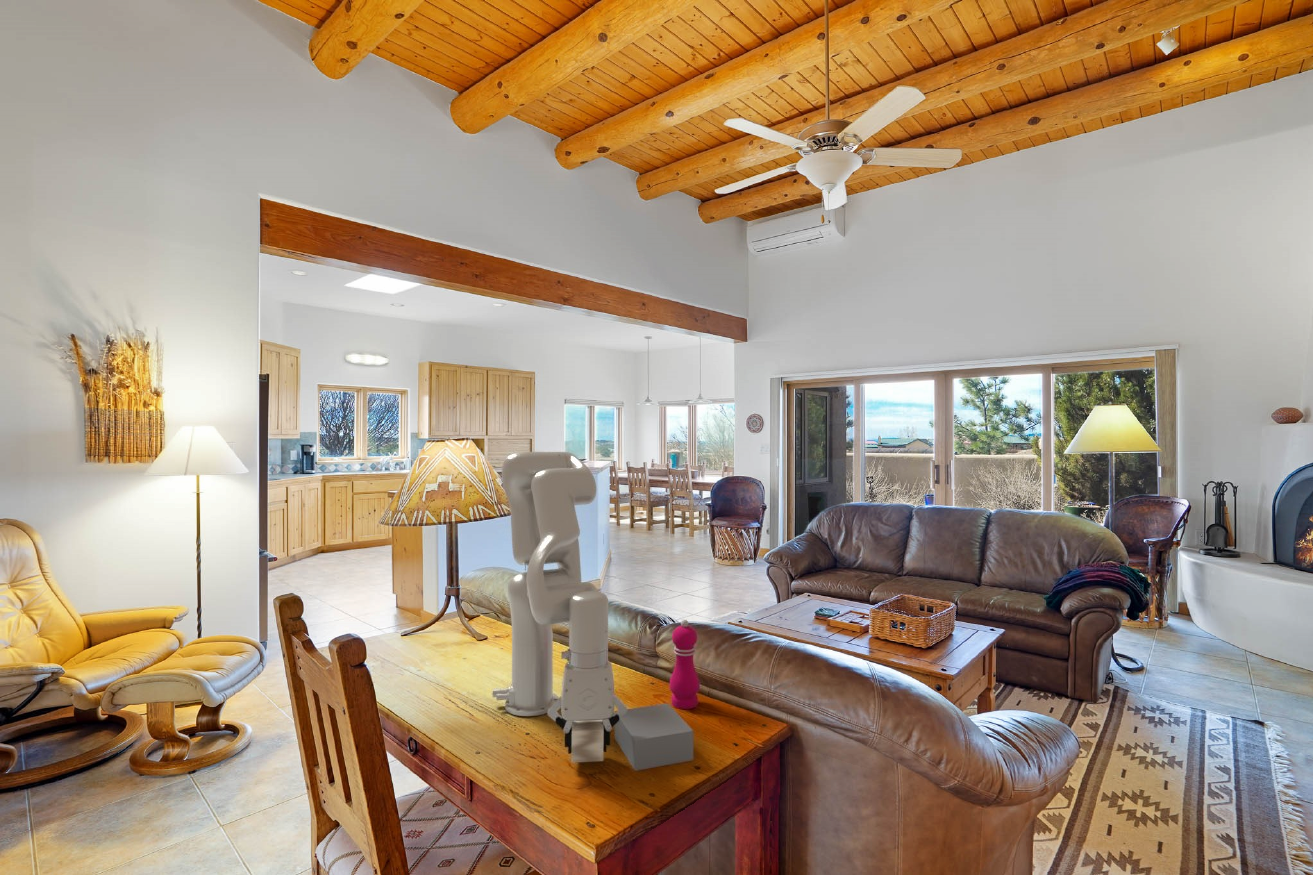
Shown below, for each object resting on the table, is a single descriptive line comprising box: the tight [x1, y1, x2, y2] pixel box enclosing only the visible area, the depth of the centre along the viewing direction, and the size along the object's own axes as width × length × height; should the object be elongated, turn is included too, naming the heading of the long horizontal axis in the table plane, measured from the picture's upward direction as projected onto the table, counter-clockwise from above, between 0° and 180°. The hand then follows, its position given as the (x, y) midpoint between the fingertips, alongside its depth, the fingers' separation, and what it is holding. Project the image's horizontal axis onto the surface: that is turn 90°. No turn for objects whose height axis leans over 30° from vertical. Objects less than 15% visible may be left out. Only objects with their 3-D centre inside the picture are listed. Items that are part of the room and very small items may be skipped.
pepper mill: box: [668, 619, 701, 710], centre depth 150 cm, size 7×7×20 cm
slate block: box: [614, 703, 694, 772], centre depth 128 cm, size 12×14×6 cm
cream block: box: [570, 720, 604, 763], centre depth 122 cm, size 6×6×6 cm
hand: (587, 748), depth 122 cm, fingers closed on cream block, 6 cm apart
